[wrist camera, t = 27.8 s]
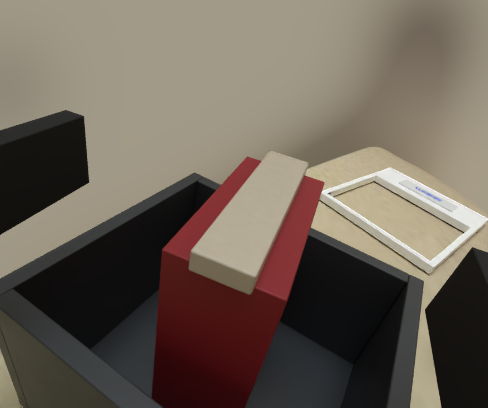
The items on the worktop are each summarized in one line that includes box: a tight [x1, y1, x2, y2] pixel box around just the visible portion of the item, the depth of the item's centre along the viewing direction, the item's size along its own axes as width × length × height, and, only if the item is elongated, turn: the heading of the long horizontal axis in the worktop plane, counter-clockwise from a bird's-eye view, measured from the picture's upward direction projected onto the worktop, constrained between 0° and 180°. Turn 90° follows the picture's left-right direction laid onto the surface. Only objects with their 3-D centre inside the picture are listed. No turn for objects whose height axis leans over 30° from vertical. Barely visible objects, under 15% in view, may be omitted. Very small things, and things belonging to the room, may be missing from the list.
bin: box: [0, 173, 424, 408], centre depth 18 cm, size 16×14×9 cm
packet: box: [151, 151, 324, 408], centre depth 16 cm, size 4×8×13 cm, turn 161°
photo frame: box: [320, 167, 488, 274], centre depth 42 cm, size 15×1×18 cm
